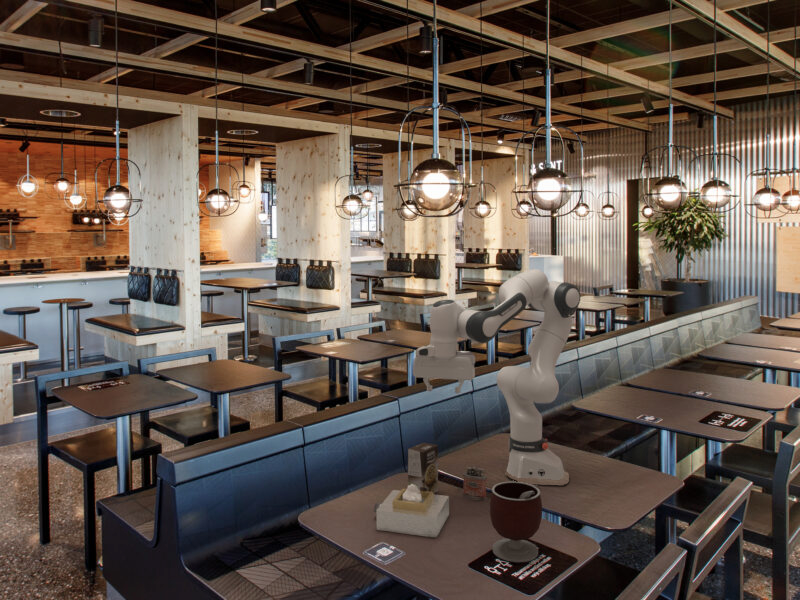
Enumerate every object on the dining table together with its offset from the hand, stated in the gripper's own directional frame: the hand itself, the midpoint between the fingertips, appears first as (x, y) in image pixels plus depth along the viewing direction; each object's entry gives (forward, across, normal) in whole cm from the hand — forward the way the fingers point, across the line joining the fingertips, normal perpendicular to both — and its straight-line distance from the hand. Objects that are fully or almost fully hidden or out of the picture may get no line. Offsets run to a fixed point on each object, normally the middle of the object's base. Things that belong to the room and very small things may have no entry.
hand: (443, 391), depth 209 cm
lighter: (+35, -10, -2) cm, 37 cm away
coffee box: (+35, +7, 0) cm, 36 cm away
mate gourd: (+35, -28, +32) cm, 55 cm away
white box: (+35, +6, +22) cm, 42 cm away
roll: (+35, +4, +22) cm, 42 cm away
